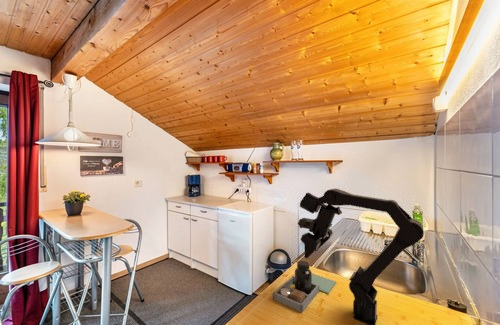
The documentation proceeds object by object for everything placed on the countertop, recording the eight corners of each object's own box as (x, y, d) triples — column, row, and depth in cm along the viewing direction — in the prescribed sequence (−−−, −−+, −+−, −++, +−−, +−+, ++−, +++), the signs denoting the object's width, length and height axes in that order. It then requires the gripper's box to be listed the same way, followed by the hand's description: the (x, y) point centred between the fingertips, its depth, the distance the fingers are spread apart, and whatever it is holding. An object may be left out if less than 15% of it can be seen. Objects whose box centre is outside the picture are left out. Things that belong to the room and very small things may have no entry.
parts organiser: (319, 291, 91) (319, 285, 91) (302, 312, 78) (302, 305, 78) (292, 281, 98) (292, 275, 98) (272, 299, 85) (273, 292, 85)
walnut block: (304, 303, 83) (305, 292, 83) (300, 308, 80) (300, 297, 80) (295, 299, 86) (295, 288, 86) (290, 304, 83) (290, 293, 83)
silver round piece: (292, 298, 86) (292, 290, 86) (287, 303, 83) (288, 295, 83) (283, 294, 89) (283, 286, 89) (278, 298, 86) (278, 291, 86)
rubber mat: (336, 282, 98) (336, 281, 98) (328, 294, 89) (328, 292, 89) (312, 274, 105) (312, 273, 105) (302, 284, 96) (302, 283, 96)
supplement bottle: (309, 288, 93) (310, 260, 93) (312, 298, 86) (313, 267, 86) (293, 287, 94) (294, 258, 94) (295, 296, 87) (295, 266, 87)
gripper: (314, 206, 97) (302, 237, 101) (295, 213, 83) (282, 249, 86) (338, 218, 91) (325, 251, 94) (323, 228, 76) (308, 267, 79)
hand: (310, 254), depth 89 cm, fingers open, 9 cm apart
